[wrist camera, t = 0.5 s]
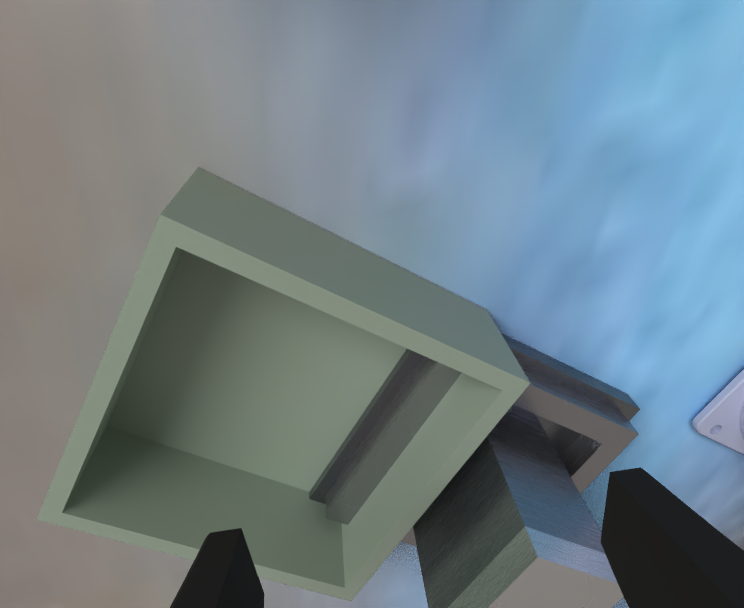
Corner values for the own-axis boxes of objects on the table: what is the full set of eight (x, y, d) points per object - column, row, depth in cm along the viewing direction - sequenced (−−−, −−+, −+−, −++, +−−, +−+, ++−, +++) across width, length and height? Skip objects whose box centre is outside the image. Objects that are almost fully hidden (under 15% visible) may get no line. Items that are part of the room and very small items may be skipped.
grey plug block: (542, 426, 22) (632, 588, 15) (473, 506, 23) (529, 679, 17) (471, 396, 20) (537, 556, 14) (404, 482, 22) (437, 657, 16)
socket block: (627, 393, 22) (656, 428, 20) (491, 540, 26) (505, 582, 24) (431, 299, 19) (444, 330, 17) (309, 481, 23) (308, 522, 21)
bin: (486, 309, 20) (530, 383, 16) (345, 503, 24) (351, 601, 20) (198, 167, 16) (160, 214, 12) (91, 422, 21) (36, 519, 16)
